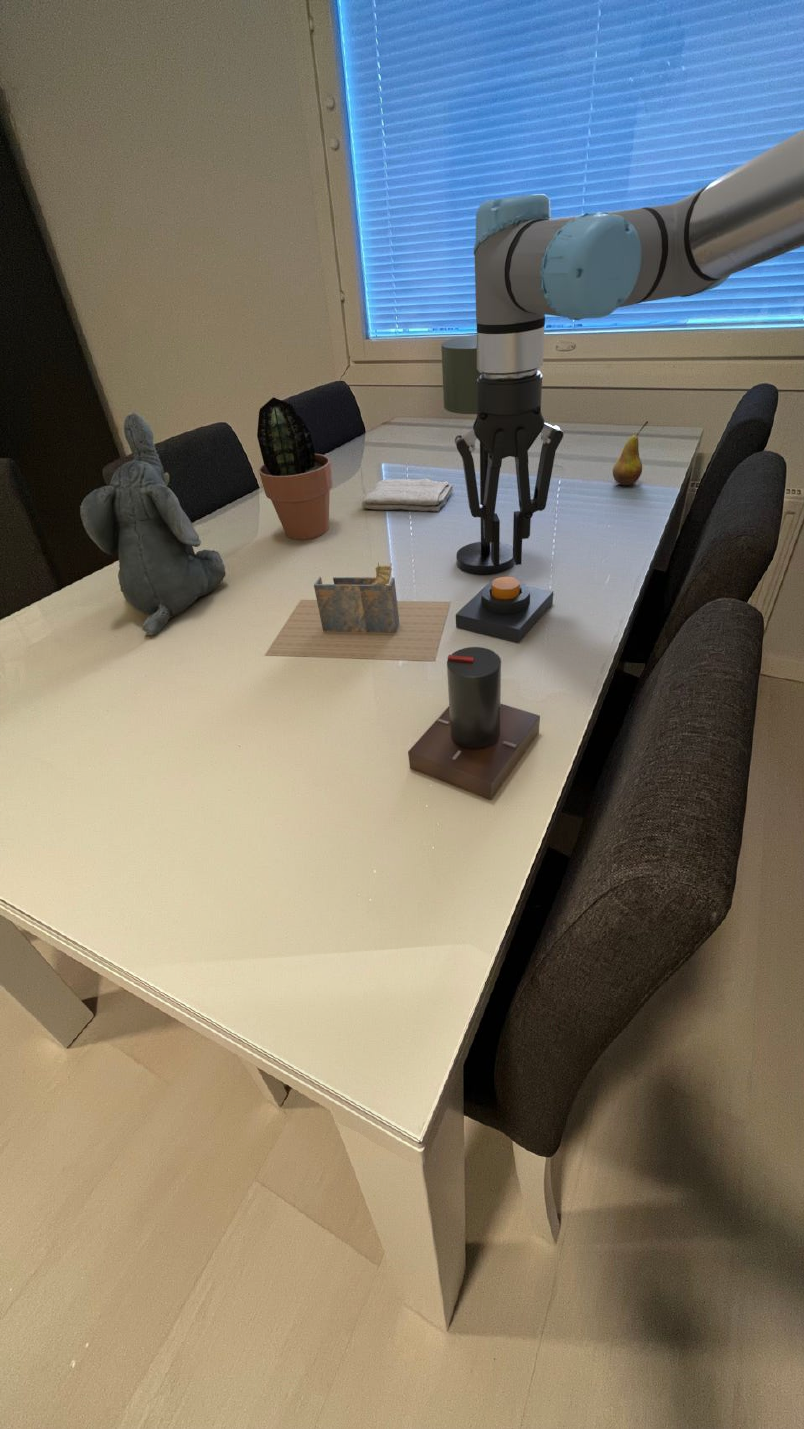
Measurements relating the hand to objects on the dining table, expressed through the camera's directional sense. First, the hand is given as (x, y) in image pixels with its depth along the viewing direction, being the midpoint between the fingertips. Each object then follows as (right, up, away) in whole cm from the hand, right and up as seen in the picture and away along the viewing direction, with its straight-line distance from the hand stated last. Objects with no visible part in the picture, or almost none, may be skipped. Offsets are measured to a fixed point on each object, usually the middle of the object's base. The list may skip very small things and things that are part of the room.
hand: (506, 561), depth 84 cm
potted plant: (-34, +16, +38) cm, 54 cm away
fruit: (+32, +27, +42) cm, 60 cm away
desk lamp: (0, +5, +20) cm, 21 cm away
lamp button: (0, -4, +3) cm, 5 cm away
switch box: (+1, -7, +5) cm, 9 cm away
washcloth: (-13, +25, +46) cm, 54 cm away
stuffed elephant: (-54, -1, +20) cm, 58 cm away
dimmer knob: (-7, -23, -18) cm, 30 cm away
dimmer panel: (-6, -25, -16) cm, 31 cm away
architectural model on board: (-21, -8, +7) cm, 23 cm away
